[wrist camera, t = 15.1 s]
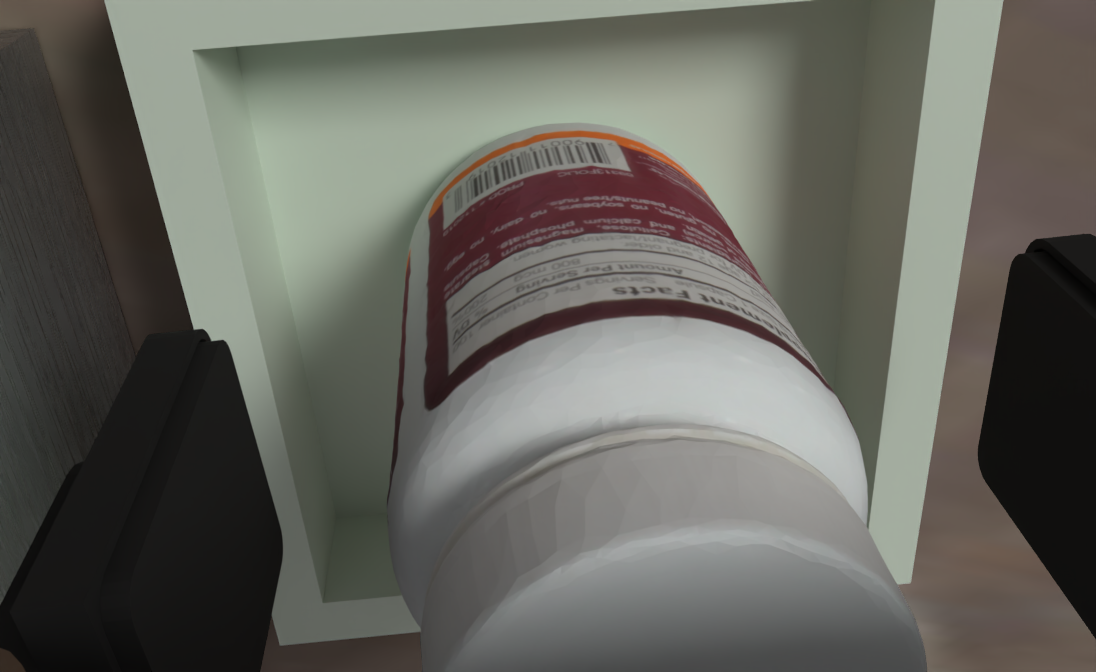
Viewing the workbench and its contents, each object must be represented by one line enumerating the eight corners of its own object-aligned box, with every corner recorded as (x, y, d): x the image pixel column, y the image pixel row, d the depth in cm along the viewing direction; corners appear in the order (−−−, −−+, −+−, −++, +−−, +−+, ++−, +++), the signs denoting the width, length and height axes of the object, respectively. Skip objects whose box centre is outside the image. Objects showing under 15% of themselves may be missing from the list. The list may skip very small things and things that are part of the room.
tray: (164, -63, 13) (99, -20, 11) (919, -119, 14) (1018, -90, 11) (304, 527, 18) (279, 645, 16) (851, 474, 19) (911, 582, 16)
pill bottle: (636, 438, 17) (783, 955, 10) (360, 345, 16) (287, 862, 8) (783, 187, 15) (1110, 600, 8) (482, 57, 14) (526, 404, 6)
